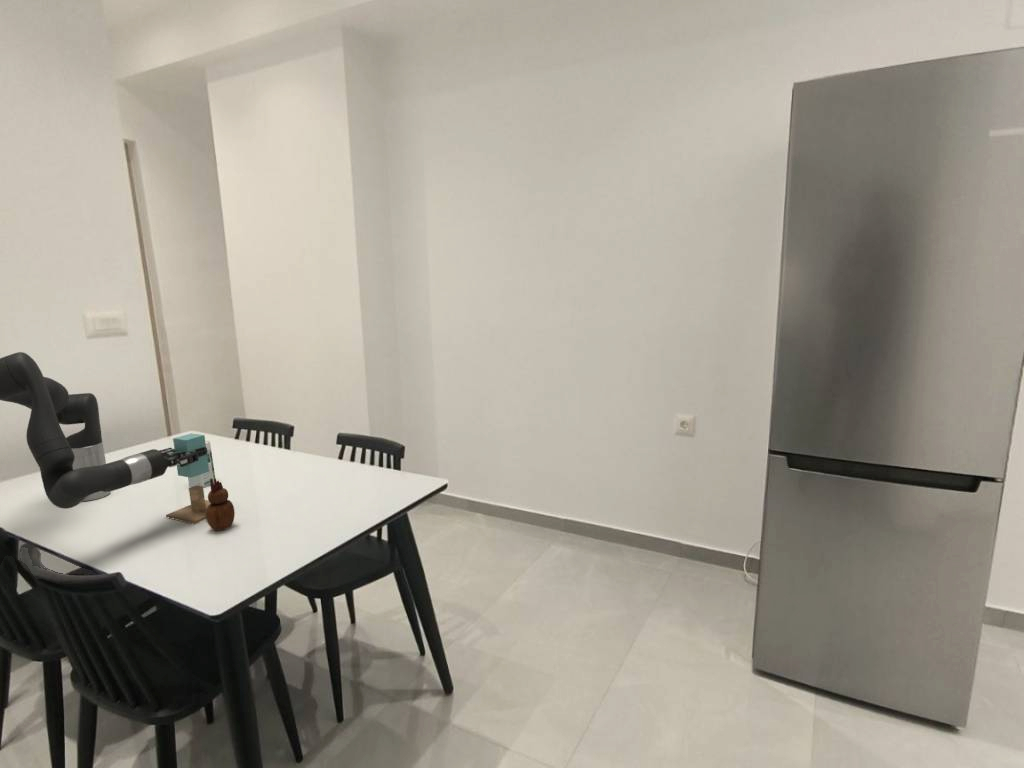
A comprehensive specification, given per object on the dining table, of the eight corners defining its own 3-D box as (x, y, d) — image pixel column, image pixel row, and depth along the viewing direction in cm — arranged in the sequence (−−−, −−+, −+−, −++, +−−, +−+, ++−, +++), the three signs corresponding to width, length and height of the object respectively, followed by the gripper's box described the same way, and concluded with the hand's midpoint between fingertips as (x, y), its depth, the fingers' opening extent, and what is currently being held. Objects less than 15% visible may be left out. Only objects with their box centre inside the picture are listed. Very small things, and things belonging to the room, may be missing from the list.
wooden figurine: (216, 535, 149) (209, 482, 146) (204, 530, 152) (197, 478, 149) (240, 525, 154) (233, 474, 152) (228, 521, 157) (221, 470, 155)
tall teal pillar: (191, 477, 158) (186, 440, 156) (178, 475, 160) (172, 438, 158) (209, 471, 163) (204, 435, 161) (195, 469, 165) (191, 433, 163)
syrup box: (203, 488, 183) (198, 445, 180) (188, 487, 184) (182, 445, 181) (216, 482, 188) (210, 440, 186) (201, 481, 190) (195, 440, 187)
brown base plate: (194, 524, 156) (191, 497, 155) (166, 517, 161) (162, 492, 159) (231, 507, 167) (228, 482, 165) (203, 501, 172) (200, 477, 170)
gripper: (156, 456, 144) (214, 439, 159) (121, 451, 150) (180, 434, 165) (160, 484, 145) (217, 464, 160) (125, 477, 151) (183, 458, 166)
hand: (198, 449), depth 162 cm, fingers closed on tall teal pillar, 5 cm apart
